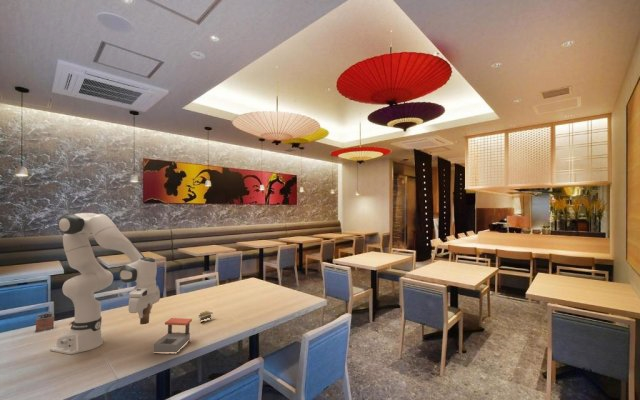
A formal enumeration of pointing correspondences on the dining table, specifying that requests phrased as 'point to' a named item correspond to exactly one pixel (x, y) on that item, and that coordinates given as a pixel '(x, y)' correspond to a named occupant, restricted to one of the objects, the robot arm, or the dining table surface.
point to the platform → (205, 315)
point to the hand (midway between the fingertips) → (144, 315)
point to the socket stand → (173, 336)
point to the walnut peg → (145, 315)
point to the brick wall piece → (44, 322)
